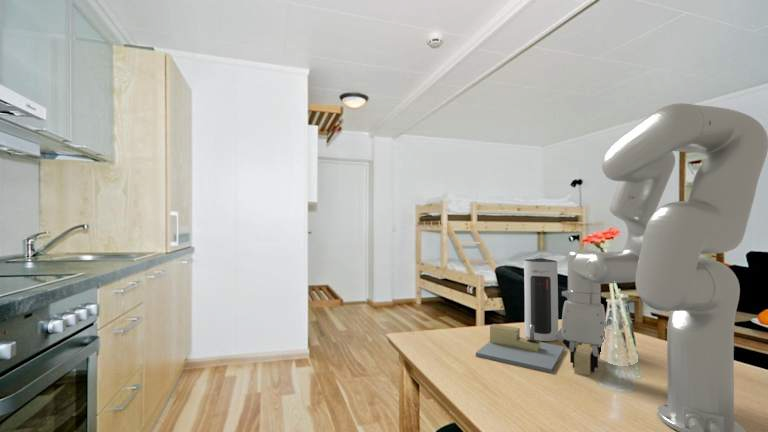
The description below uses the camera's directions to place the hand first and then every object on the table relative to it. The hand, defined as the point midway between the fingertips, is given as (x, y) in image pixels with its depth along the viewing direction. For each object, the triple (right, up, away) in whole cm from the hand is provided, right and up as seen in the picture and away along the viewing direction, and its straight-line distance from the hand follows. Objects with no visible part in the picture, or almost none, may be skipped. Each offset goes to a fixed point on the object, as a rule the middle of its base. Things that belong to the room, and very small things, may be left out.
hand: (584, 367), depth 95 cm
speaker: (0, -1, +27) cm, 27 cm away
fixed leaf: (-13, 0, +15) cm, 20 cm away
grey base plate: (-12, -1, +11) cm, 17 cm away
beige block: (+2, -1, +2) cm, 3 cm away
